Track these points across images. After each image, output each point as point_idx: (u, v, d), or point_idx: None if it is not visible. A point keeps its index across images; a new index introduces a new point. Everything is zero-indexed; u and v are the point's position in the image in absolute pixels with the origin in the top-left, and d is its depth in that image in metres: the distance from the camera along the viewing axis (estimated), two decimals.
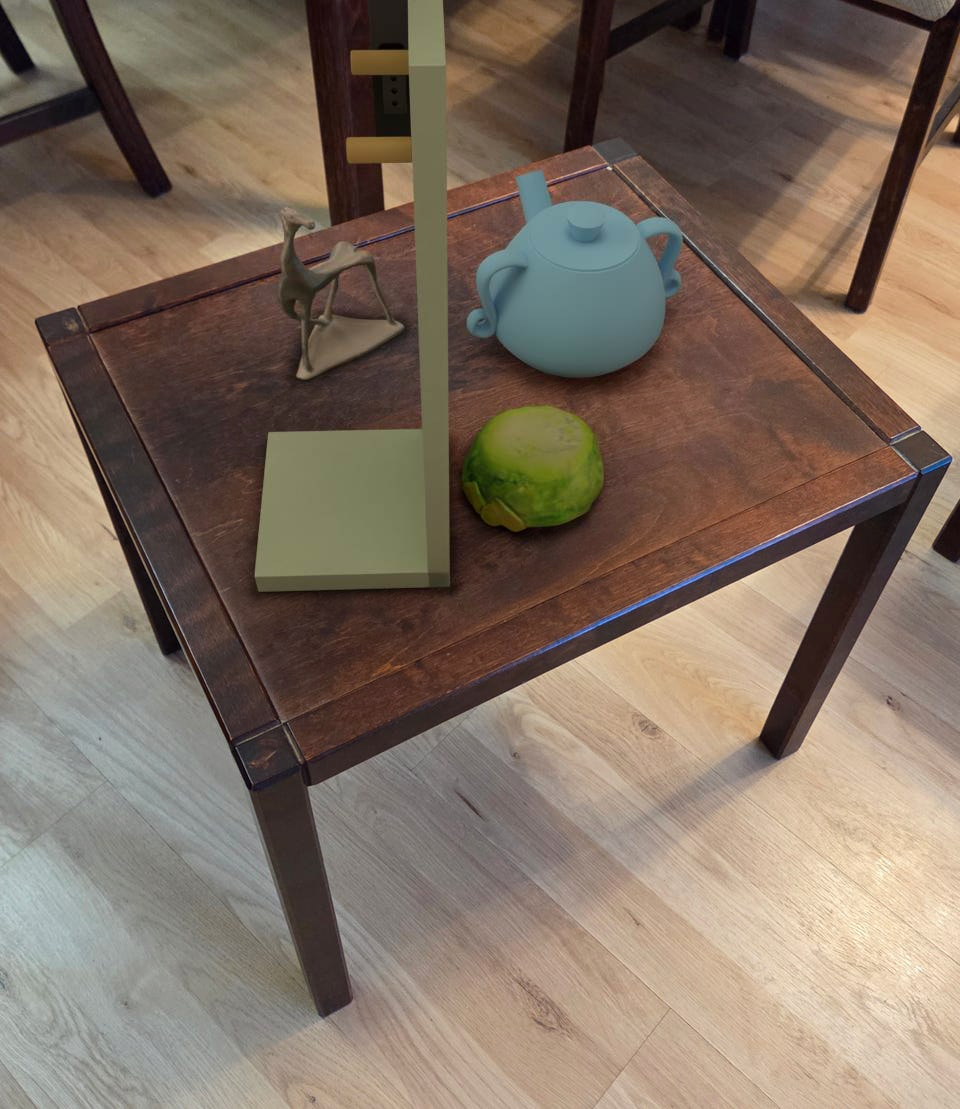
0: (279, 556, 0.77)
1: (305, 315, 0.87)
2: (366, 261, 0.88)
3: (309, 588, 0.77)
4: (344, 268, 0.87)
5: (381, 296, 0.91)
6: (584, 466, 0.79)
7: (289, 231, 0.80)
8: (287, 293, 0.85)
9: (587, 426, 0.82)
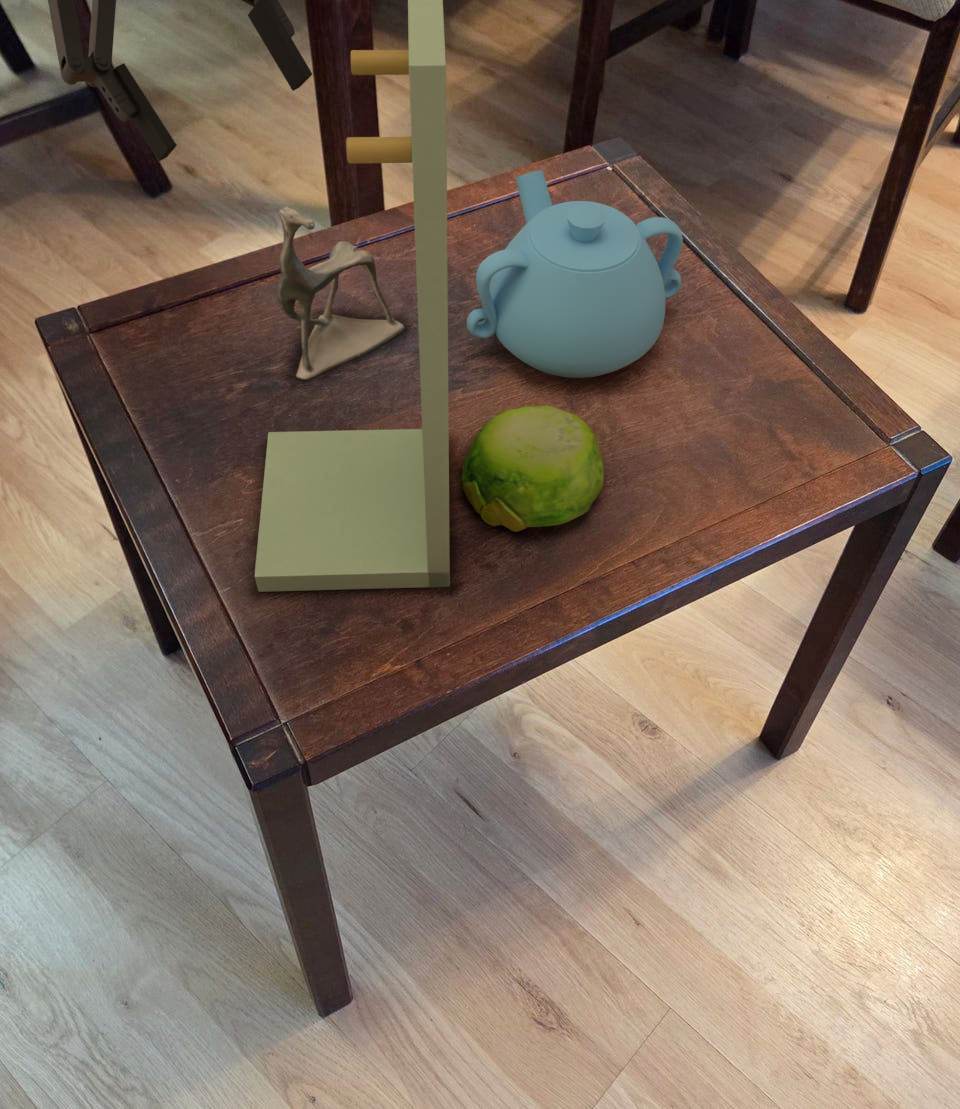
0: (279, 556, 0.77)
1: (305, 315, 0.87)
2: (366, 261, 0.88)
3: (309, 588, 0.77)
4: (344, 268, 0.87)
5: (381, 296, 0.91)
6: (584, 466, 0.79)
7: (289, 231, 0.80)
8: (287, 293, 0.85)
9: (587, 426, 0.82)
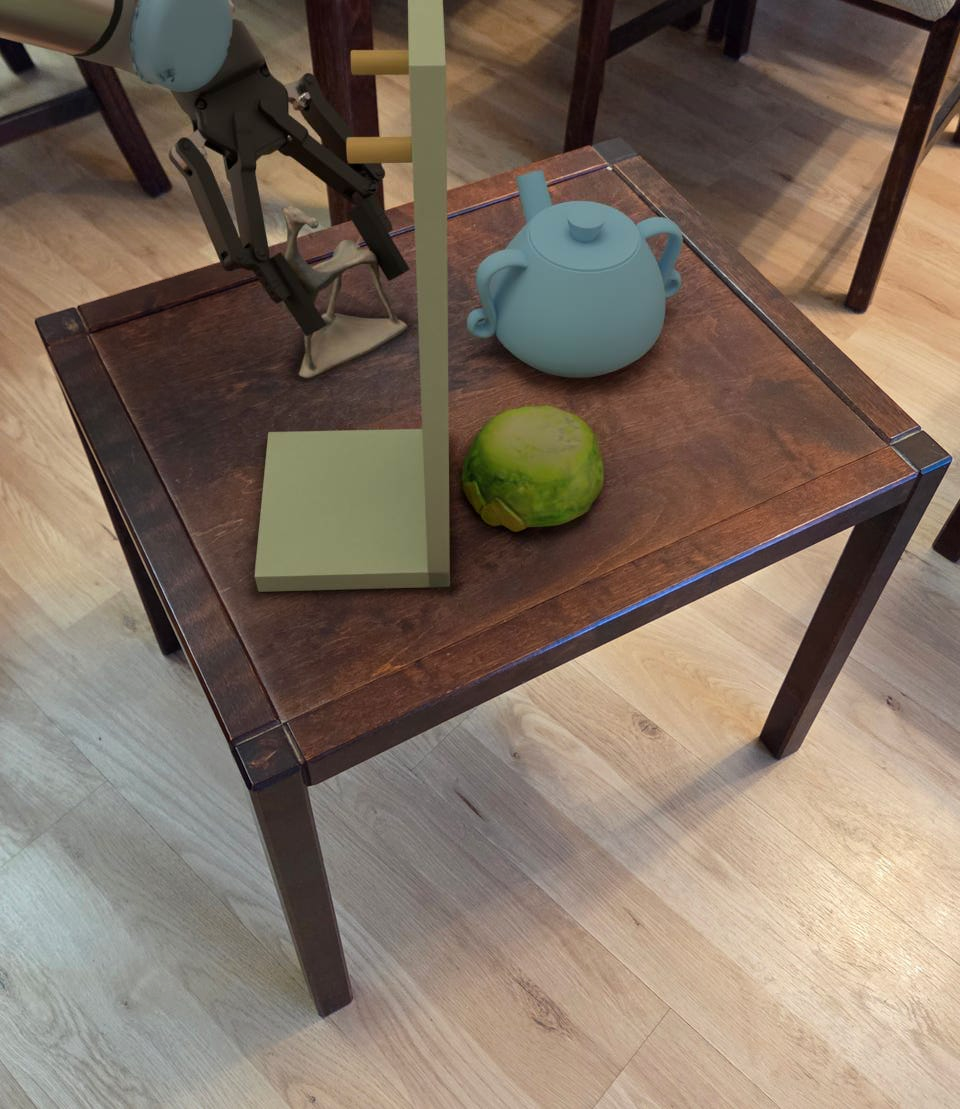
0: (279, 556, 0.77)
1: None
2: (369, 260, 0.88)
3: (309, 588, 0.77)
4: (347, 267, 0.87)
5: (384, 295, 0.91)
6: (584, 466, 0.79)
7: (293, 230, 0.80)
8: None
9: (587, 426, 0.82)
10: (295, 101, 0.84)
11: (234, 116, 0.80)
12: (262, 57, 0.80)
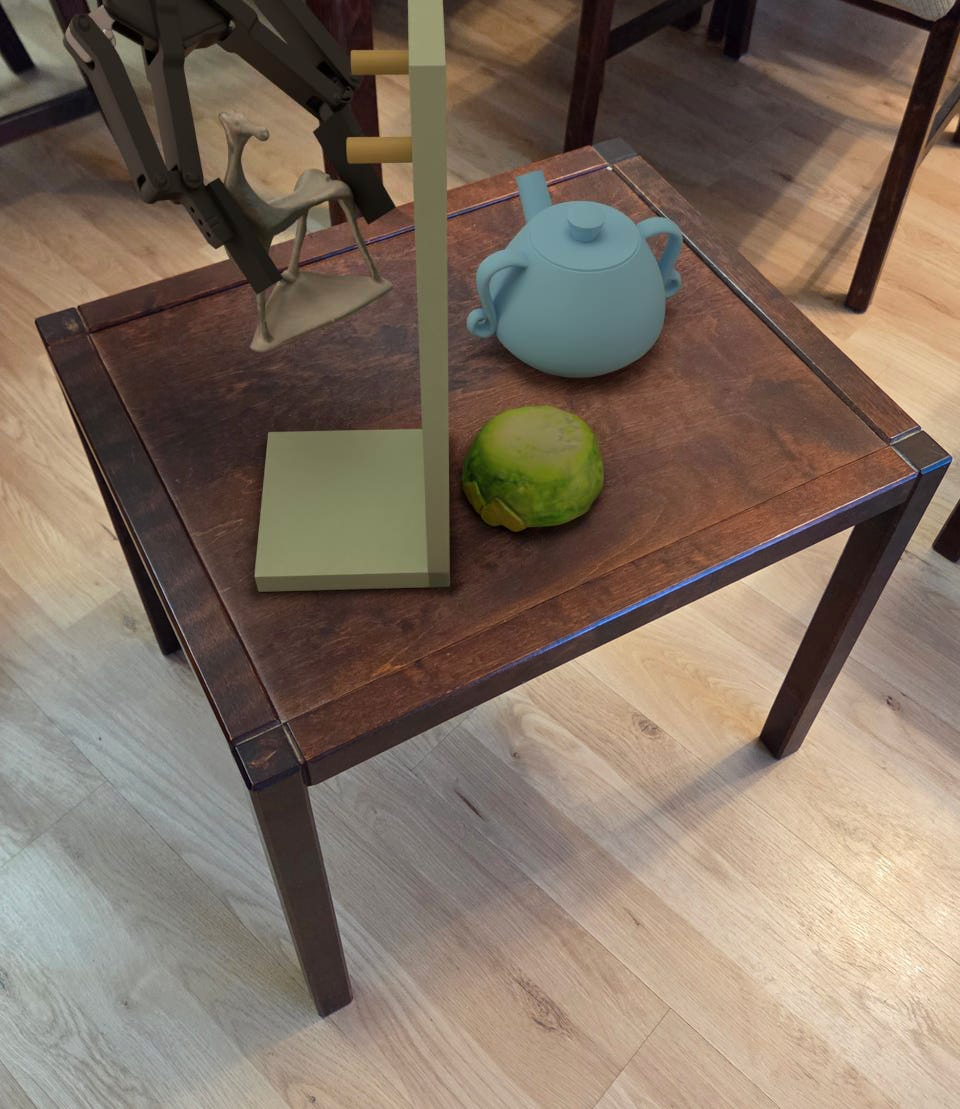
0: (279, 556, 0.77)
1: None
2: (342, 194, 0.66)
3: (309, 588, 0.77)
4: (313, 203, 0.65)
5: (363, 244, 0.70)
6: (584, 466, 0.79)
7: (235, 145, 0.59)
8: None
9: (587, 426, 0.82)
10: None
11: None
12: None
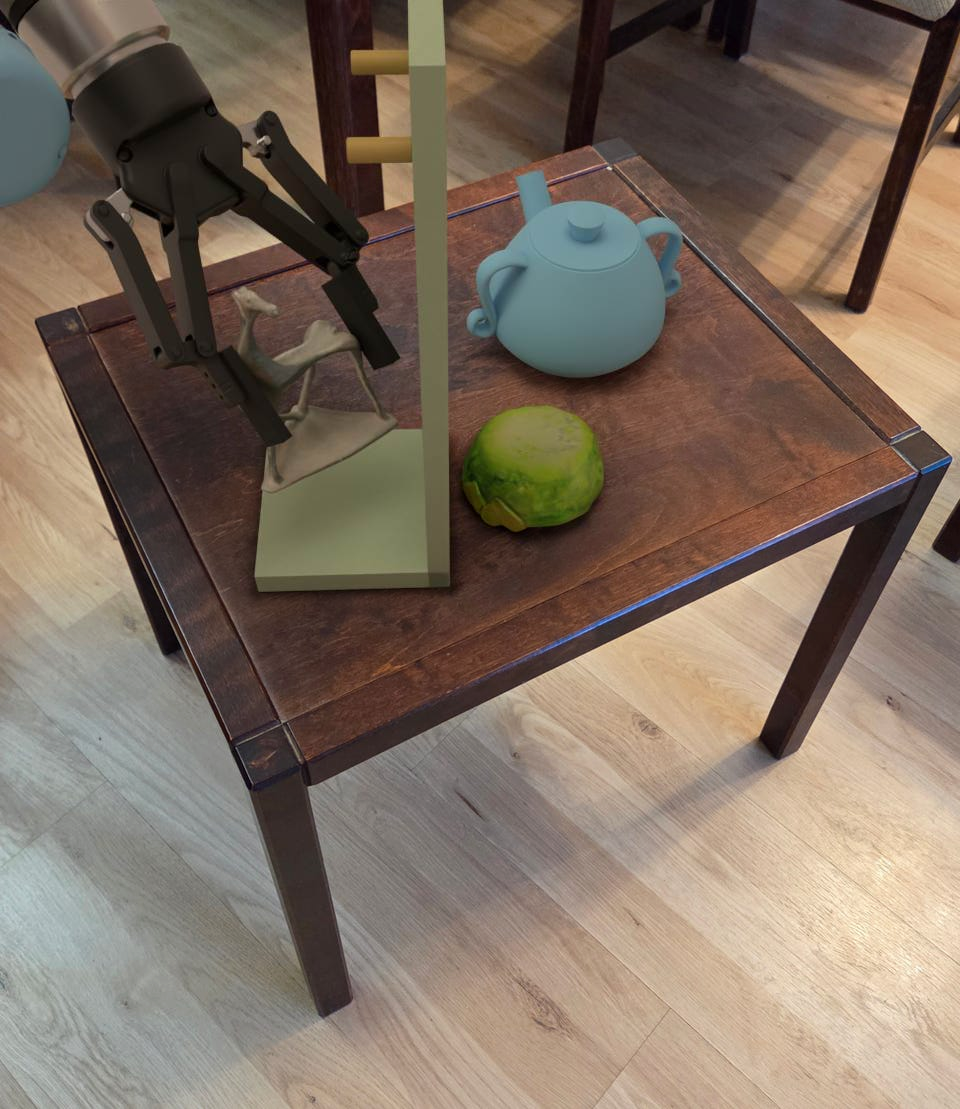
0: (279, 556, 0.77)
1: None
2: (349, 346, 0.69)
3: (309, 588, 0.77)
4: (321, 356, 0.68)
5: (369, 386, 0.72)
6: (584, 466, 0.79)
7: (246, 318, 0.62)
8: None
9: (587, 426, 0.82)
10: (252, 147, 0.65)
11: (169, 170, 0.61)
12: (206, 92, 0.61)
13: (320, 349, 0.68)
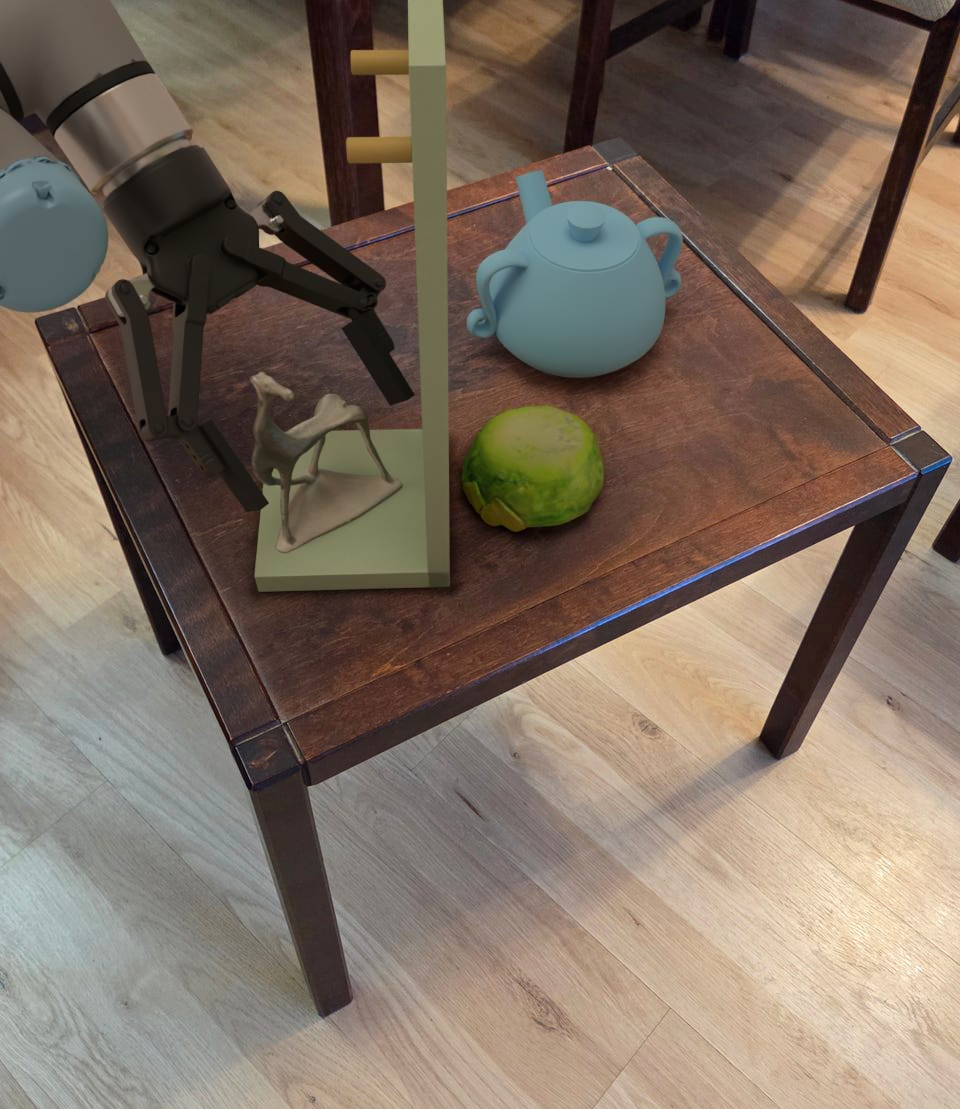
0: (279, 556, 0.77)
1: (285, 485, 0.74)
2: (357, 419, 0.75)
3: (309, 588, 0.77)
4: (331, 428, 0.74)
5: (375, 453, 0.78)
6: (584, 466, 0.79)
7: (264, 400, 0.67)
8: (263, 462, 0.72)
9: (587, 426, 0.82)
10: (266, 227, 0.71)
11: (192, 259, 0.66)
12: (226, 189, 0.67)
13: (330, 422, 0.74)
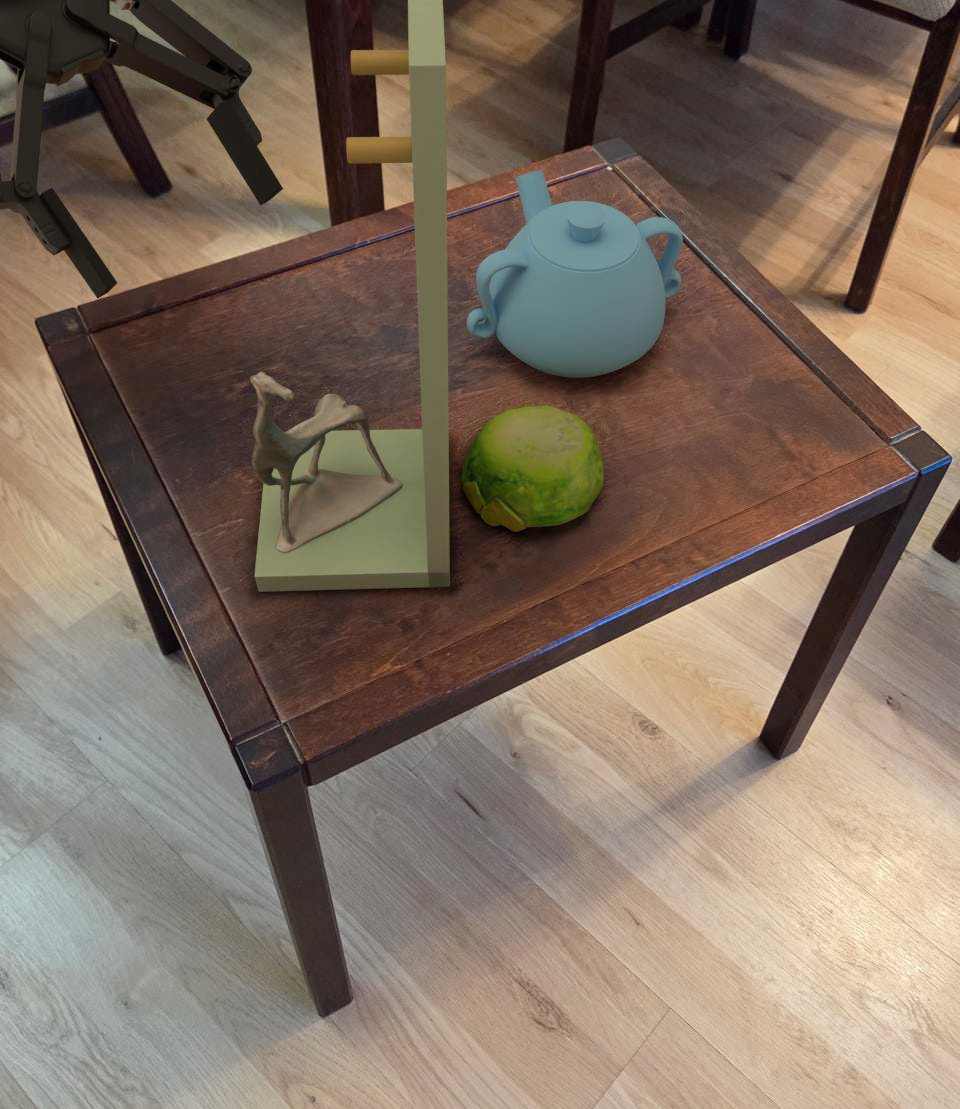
0: (279, 556, 0.77)
1: (285, 485, 0.74)
2: (357, 419, 0.75)
3: (309, 588, 0.77)
4: (331, 428, 0.74)
5: (375, 453, 0.78)
6: (584, 466, 0.79)
7: (264, 400, 0.67)
8: (263, 462, 0.72)
9: (587, 426, 0.82)
10: None
11: (30, 16, 0.63)
12: None
13: (330, 422, 0.74)
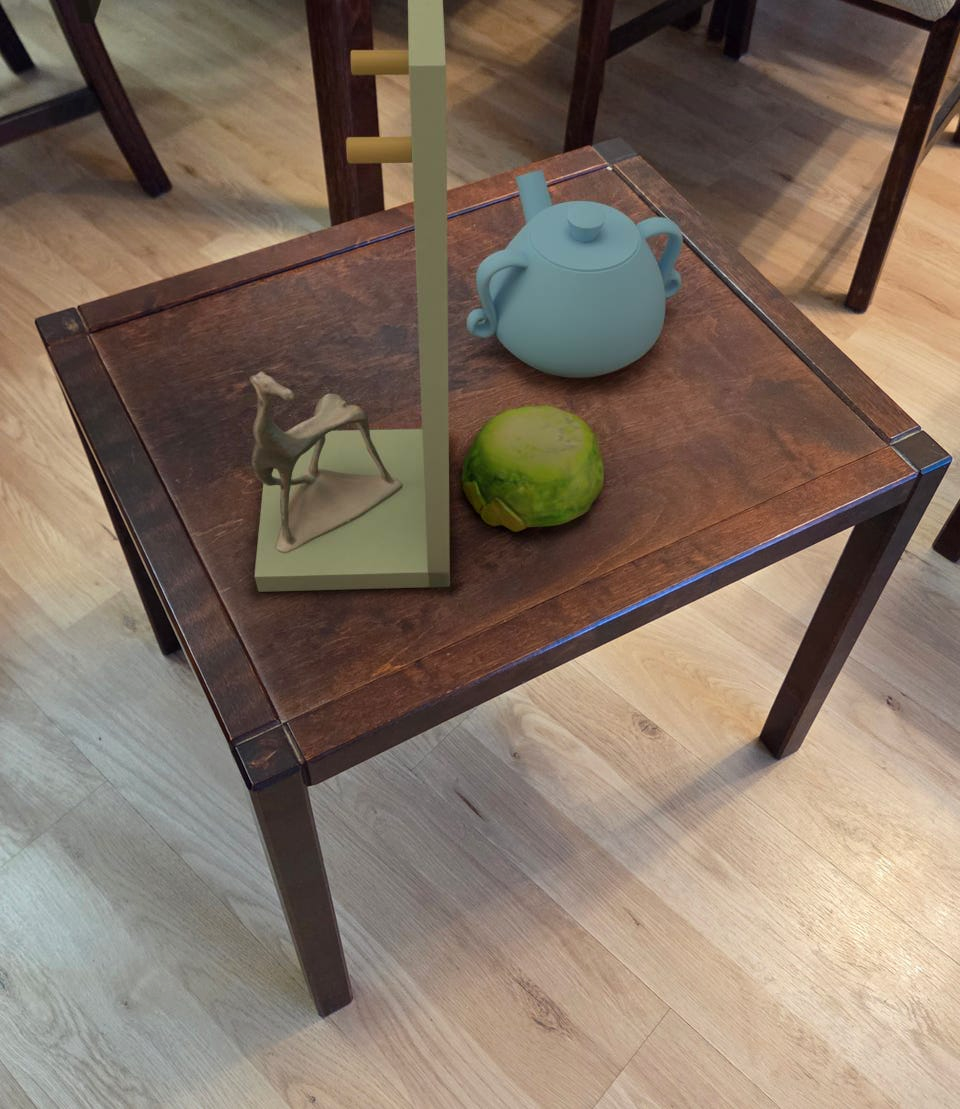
0: (279, 556, 0.77)
1: (285, 484, 0.74)
2: (357, 419, 0.75)
3: (309, 588, 0.77)
4: (331, 428, 0.74)
5: (375, 453, 0.78)
6: (584, 466, 0.79)
7: (264, 400, 0.67)
8: (263, 462, 0.72)
9: (587, 426, 0.82)
10: None
11: None
12: None
13: (330, 422, 0.74)
